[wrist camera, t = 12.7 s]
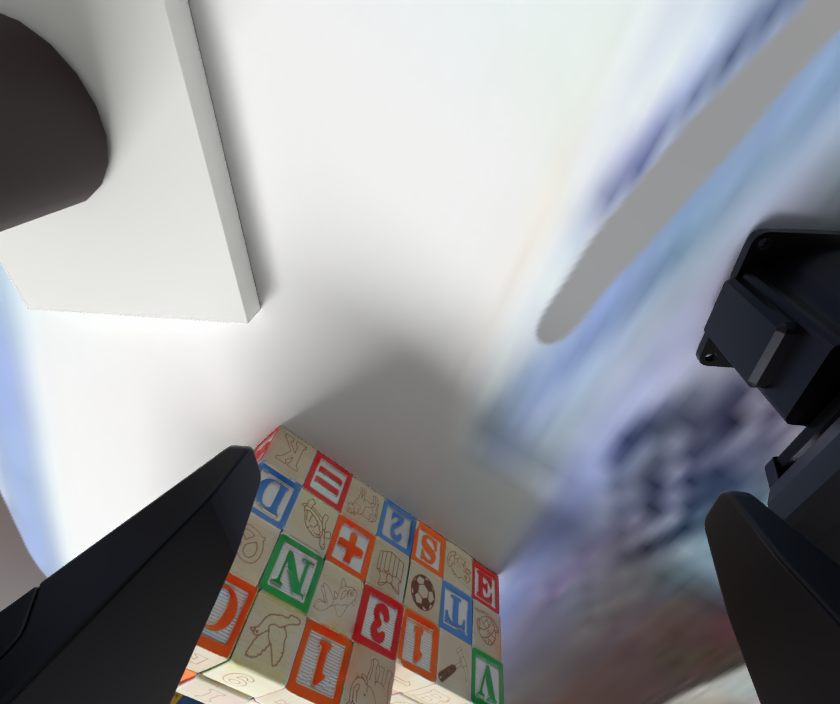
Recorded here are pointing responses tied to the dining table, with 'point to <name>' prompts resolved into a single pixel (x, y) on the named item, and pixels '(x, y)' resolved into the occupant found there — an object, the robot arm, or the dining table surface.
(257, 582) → the stack of blocks
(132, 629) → the robot arm
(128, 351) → the dining table surface
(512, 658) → the dining table surface
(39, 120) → the vinegar
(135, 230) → the white flat block
